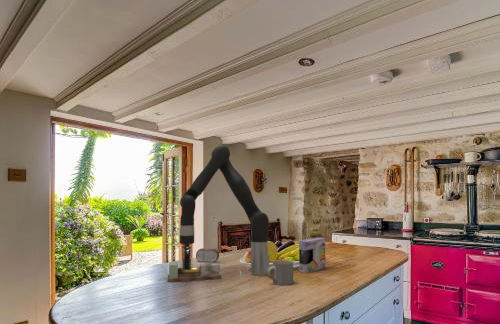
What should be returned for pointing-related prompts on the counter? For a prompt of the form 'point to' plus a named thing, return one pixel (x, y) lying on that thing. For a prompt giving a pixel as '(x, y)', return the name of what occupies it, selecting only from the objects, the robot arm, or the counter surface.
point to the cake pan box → (311, 255)
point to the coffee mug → (281, 272)
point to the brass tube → (188, 271)
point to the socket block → (173, 270)
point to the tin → (207, 255)
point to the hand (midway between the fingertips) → (186, 268)
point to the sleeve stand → (200, 274)
